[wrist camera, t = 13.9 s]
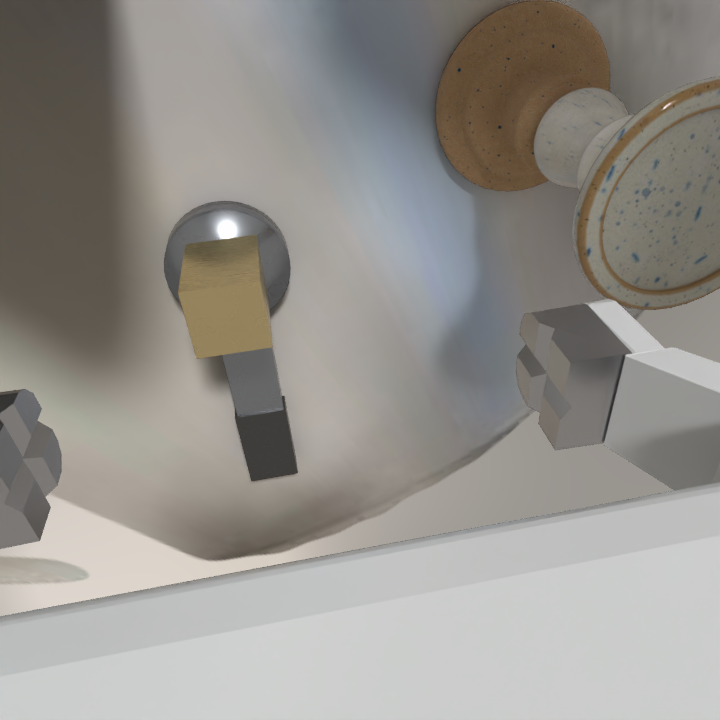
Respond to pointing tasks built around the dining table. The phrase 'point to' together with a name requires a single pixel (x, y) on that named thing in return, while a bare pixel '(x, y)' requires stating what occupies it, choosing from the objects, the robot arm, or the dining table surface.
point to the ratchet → (257, 367)
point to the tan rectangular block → (225, 296)
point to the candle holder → (590, 150)
